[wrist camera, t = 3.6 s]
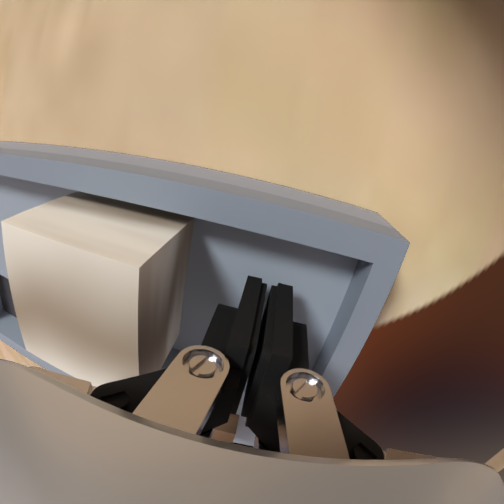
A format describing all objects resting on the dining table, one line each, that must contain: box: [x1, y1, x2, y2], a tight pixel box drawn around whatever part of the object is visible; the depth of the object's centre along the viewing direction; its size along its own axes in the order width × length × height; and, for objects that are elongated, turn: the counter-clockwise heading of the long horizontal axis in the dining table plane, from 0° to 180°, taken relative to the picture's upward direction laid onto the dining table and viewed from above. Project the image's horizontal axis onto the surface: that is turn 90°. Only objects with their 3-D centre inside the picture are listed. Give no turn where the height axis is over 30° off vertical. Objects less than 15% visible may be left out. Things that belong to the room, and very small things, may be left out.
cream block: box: [1, 191, 195, 387], centre depth 10 cm, size 6×6×4 cm
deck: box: [0, 141, 410, 446], centre depth 14 cm, size 15×31×4 cm, turn 77°
